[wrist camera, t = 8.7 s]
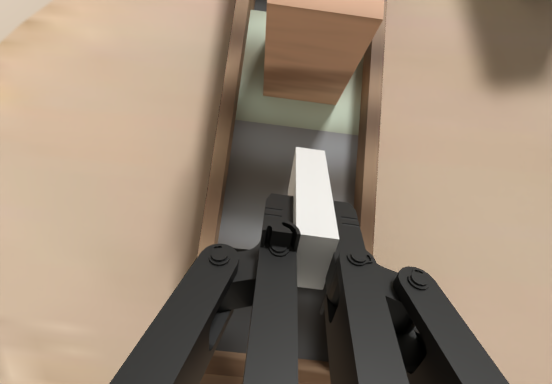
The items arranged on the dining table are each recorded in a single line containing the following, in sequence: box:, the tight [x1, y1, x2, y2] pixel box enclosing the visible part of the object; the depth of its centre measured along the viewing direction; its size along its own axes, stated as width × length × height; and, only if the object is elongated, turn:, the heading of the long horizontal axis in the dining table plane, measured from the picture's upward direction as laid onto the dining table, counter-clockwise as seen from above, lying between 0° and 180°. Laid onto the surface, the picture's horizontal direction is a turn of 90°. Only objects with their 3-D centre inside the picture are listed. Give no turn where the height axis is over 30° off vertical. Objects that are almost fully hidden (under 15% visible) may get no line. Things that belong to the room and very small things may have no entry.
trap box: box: [197, 0, 387, 384], centre depth 26 cm, size 38×12×5 cm, turn 174°
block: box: [263, 0, 384, 105], centre depth 22 cm, size 6×6×10 cm
